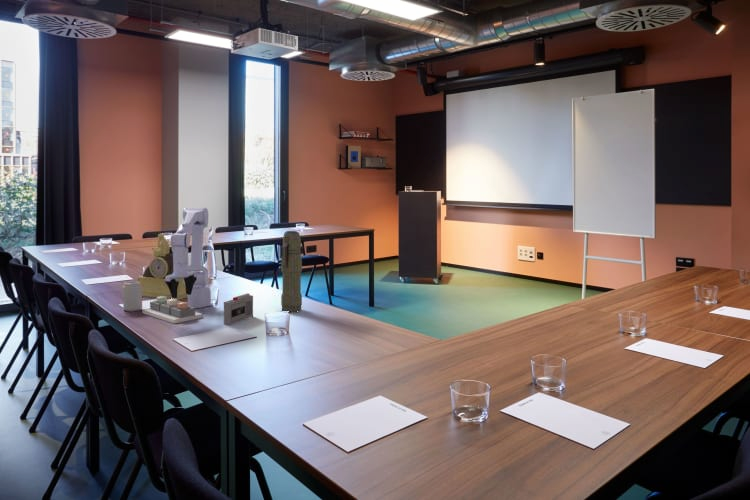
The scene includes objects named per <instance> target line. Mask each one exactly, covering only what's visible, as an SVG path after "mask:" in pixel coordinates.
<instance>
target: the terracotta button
mask: <svg viewBox="0 0 750 500" xmlns="http://www.w3.org/2000/svg"><path fill="white" fill-rule="evenodd" d="M177 303H178V309H179V310H183V309H188V301H181V302H177Z"/></svg>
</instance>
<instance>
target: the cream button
mask: <svg viewBox="0 0 750 500" xmlns="http://www.w3.org/2000/svg"><path fill="white" fill-rule="evenodd" d="M177 303H178V300H177V299H167V306H169V307H171V306H177Z"/></svg>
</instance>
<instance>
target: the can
mask: <svg viewBox="0 0 750 500" xmlns="http://www.w3.org/2000/svg"><path fill="white" fill-rule="evenodd" d="M137 281H138V280H137ZM137 281H136V280H135V281H125V282H124V283H123V285H122V303H123V305H122V307H123V309H124V310H125V311H127V312H137V311H140V310H141V309H142V308H143V296H142V285H141V284H140V282H137Z"/></svg>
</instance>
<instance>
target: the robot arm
mask: <svg viewBox="0 0 750 500" xmlns="http://www.w3.org/2000/svg"><path fill="white" fill-rule="evenodd" d="M182 218H183V222H182V223H180V224H179V225H178V227H177V230H176V232H174V233H173V234H171V236H170V246H171V253H172V254H173V269H174V273H172V274H171V275H168V276H165V283H166V284H167V286H168V288H169V290H170V293H171V296H172V298H177V289H178V284H179V282H178V281H176V279H181V278H183V283H184V285H185V287H186V294H188V297H187V302H188V306H190V307H194V308H195V309H200V308H204V307H210V306H213V304H212V298H211V295H212V291H211V288H210V286H208V284H209V270H208V268H207V267H206V266H204V265H203V247H204V246H203V245H204V230H205V228H207V227H208V225H209V210H208V208H207V207H186V206H185V207H184V208H183V209H182ZM190 244H191V248H190V249H191V253H190V264H189V247H190Z"/></svg>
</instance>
